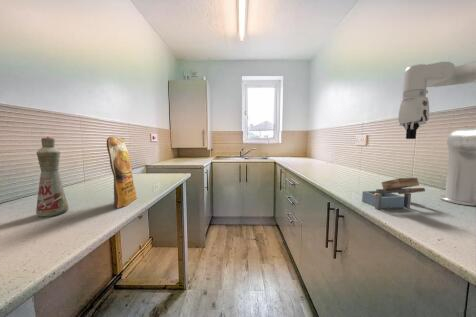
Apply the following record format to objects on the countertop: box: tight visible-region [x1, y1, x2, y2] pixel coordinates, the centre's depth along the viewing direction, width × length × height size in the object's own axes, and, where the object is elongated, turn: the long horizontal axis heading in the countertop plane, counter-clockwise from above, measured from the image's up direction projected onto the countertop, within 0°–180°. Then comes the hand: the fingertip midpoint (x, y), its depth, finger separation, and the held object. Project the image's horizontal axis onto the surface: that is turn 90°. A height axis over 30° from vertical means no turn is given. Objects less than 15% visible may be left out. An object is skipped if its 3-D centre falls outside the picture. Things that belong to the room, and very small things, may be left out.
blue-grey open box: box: [361, 190, 404, 210], centre depth 83 cm, size 10×10×4 cm
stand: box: [374, 193, 412, 211], centre depth 78 cm, size 2×14×6 cm, turn 97°
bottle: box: [35, 136, 70, 218], centre depth 72 cm, size 9×9×28 cm
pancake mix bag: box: [106, 136, 138, 209], centre depth 85 cm, size 7×19×28 cm, turn 5°
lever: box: [375, 177, 426, 195], centre depth 80 cm, size 18×22×4 cm
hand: (410, 138), depth 88 cm, fingers closed
